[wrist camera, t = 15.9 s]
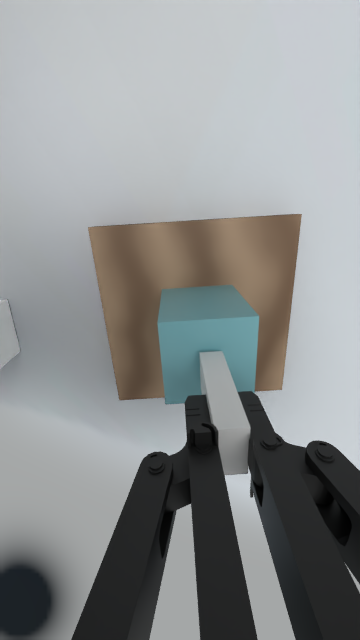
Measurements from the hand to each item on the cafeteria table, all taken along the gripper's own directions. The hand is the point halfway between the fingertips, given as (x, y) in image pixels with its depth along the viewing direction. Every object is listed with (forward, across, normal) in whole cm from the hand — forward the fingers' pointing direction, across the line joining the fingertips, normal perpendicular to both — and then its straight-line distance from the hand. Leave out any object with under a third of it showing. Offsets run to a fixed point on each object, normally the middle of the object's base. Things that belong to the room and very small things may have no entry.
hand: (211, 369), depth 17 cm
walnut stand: (+11, 0, 0) cm, 11 cm away
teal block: (+9, 0, 0) cm, 9 cm away
